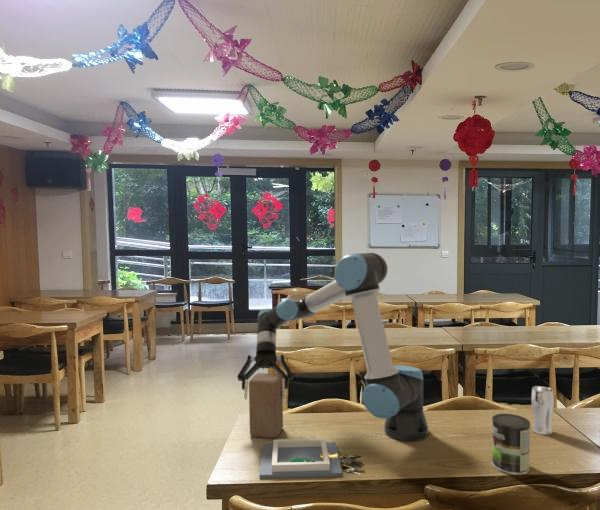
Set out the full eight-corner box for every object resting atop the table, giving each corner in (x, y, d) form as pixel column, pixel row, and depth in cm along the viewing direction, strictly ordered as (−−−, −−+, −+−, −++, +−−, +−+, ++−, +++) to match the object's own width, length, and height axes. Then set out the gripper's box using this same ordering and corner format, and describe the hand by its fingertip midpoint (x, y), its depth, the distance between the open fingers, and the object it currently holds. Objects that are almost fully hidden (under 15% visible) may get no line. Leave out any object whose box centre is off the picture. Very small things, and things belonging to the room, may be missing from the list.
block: (276, 439, 159) (275, 382, 158) (249, 437, 161) (247, 380, 160) (283, 427, 169) (282, 373, 168) (257, 425, 171) (256, 372, 170)
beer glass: (532, 433, 160) (532, 391, 159) (530, 426, 166) (530, 385, 166) (554, 436, 157) (555, 393, 157) (552, 428, 164) (552, 387, 163)
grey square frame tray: (335, 444, 154) (335, 436, 154) (342, 476, 134) (342, 465, 134) (263, 446, 153) (263, 437, 153) (259, 478, 133) (259, 468, 133)
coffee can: (503, 476, 132) (503, 427, 132) (485, 459, 143) (485, 414, 142) (537, 474, 133) (537, 426, 133) (517, 457, 144) (517, 412, 143)
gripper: (298, 350, 182) (299, 401, 168) (235, 351, 182) (230, 402, 167) (298, 339, 177) (299, 391, 162) (233, 341, 176) (228, 393, 162)
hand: (264, 397), depth 165 cm, fingers open, 13 cm apart
